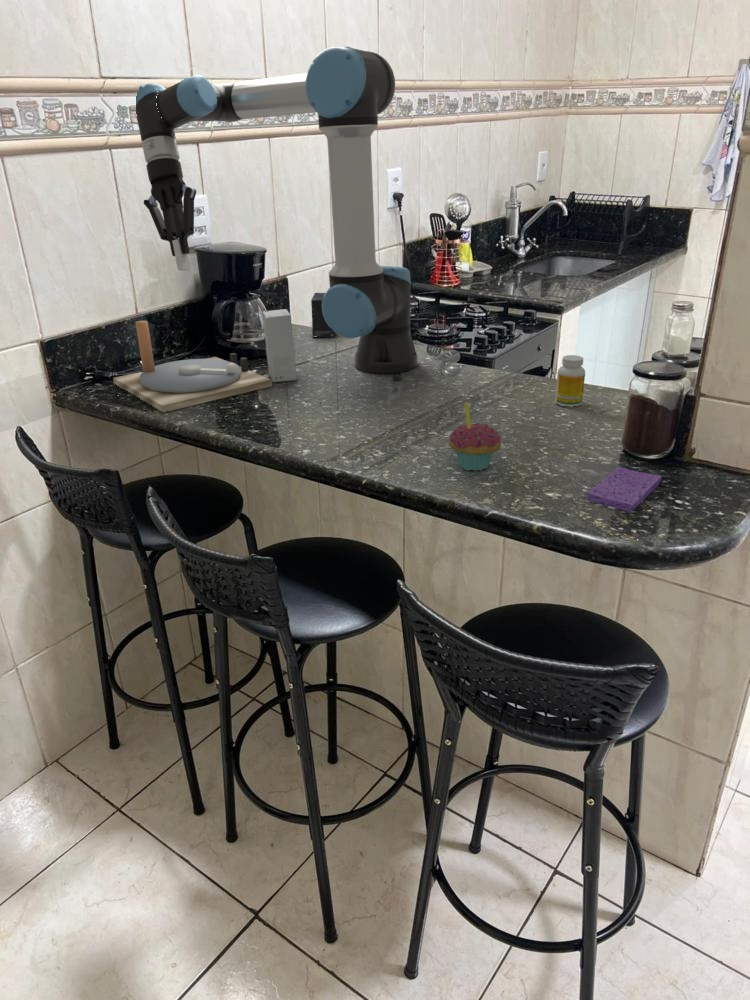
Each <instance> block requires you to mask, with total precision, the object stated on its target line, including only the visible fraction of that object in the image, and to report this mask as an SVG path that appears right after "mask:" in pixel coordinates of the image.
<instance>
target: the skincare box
mask: <svg viewBox="0 0 750 1000" xmlns="http://www.w3.org/2000/svg"><path fill="white" fill-rule="evenodd" d="M262 319H263V321H262V322H263V331H264V341H265V349H266V351H265V352H266V360H267V368H268V375H269V377H270V379H271V380H272V383H277V382H293V381H295V382H296V381H297V380H298V378H297V377H298V375H297V367H296V357H295V346H294V338H293V336H294V335H293V327H292V315H291V313H290V312H289V311H288V309H286V308H285V309H274V310H264V311H262Z"/></svg>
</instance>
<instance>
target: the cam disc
mask: <svg viewBox="0 0 750 1000" xmlns="http://www.w3.org/2000/svg"><path fill="white" fill-rule="evenodd" d="M135 329H136V335H137V341H138V347H139V348H138V349H139V353H140V358H141V359H140V360H141V365H142V366H141V367H142V371H141V372H142V373H141V375H140V382H141V385H142V386H143V387H145V388H147V389H150V390H153V391H159V392H168V393H185V392H197V391H204V390H210V389H215V388H219V387H222V386H225V385H228V384H231V383H233V382H234V381H236V380H237V379H239V377H240V376H241V371H240V367H241V366H239V364H238V365H237V364H235V363H233V362H230V360H229V361H228V360H224V359H222V360H218V359H206V358H191V359H190V358H189V359H182V360H174V361H169V362H164V363H161V364H157V365H155V361H154V354H153V349H152V340H151V334H150V329H149V323H148V320H138V321H135Z"/></svg>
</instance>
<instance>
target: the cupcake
mask: <svg viewBox="0 0 750 1000" xmlns="http://www.w3.org/2000/svg"><path fill="white" fill-rule="evenodd" d="M464 411H465V420H466V424H462V425H460V426H458V427H457V426H456V429H453V431H452V432H451V433H450V434H449V438H448V439H449V440H448V444H449V447H450V449H451V450H454V452H455V455H456V457H457V461H458V466H459V467H460V466H461V467H463V468H465V469H469V470H481V469H485V468H486V469H487V468H488V467H489V464H490V461H491V460H492V457H493V455H494V453H495V452H497V451H498V450H501V447H502V440H501V437H502V436H501V435H500V434H499V432H498V431H496V429H495V428H493V427H491V426H490V425H489V424H483V423H479V422H477V423H471V414H470V413H471V412H470V404H469V402H468V401H467V398H464ZM461 467H460V468H461ZM465 469H464V470H465ZM486 469H485V470H486ZM481 471H482V470H481Z"/></svg>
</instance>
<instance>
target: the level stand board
mask: <svg viewBox="0 0 750 1000" xmlns="http://www.w3.org/2000/svg"><path fill="white" fill-rule="evenodd" d="M229 358H230V359H229V362H233V363H235V364H237V365H238V366H239V364H238V363H239V362H240V366H239V367H240V371H241V376H240V377H239V379H237V380H236V381H234V382H233V383H231V384H228V385H225V386H222V387H219V388H215V389H210V390H204V391H197V392H185V393H168V392H159V391H153V390H150V389H147V388H145V387H143V386H142V385H141V382H140V375H141V373H142V372H143V371H140V372H134V373H130V374H125V375H121V376H115V377H113V378H112V379H113V385H115V384H116V385H117V387H118V386H119V387H118V388H120V389H122V390H123V389H124V390H123V391H125V390H126V391H125V392H127V391H128V392H127V393H129V392H130V393H131V394H130V393H129V394H130V395H132V394H133V396H134V395H135V396H134V397H136V398H137V397H138V398H137V399H139V398H140V400H141V401H143V402H144V401H145V402H144V403H146V402H147V404H148V405H149V406H151V405H152V406H151V407H153V408H155V409H156V410H158V411H160V412H162V413H163V412H164V413H167V411H168V412H172V411H174V410H175V411H176V410H179V409H183V408H187V407H192V406H196V405H199V404H200V405H201V404H204V403H209V402H213V401H217V400H220V399H221V400H222V399H225V398H229V397H232V396H238V395H242V394H245V393H250V392H253V391H257V390H262V389H266V388H270V387H273V382H272V379H271V378H268V377H266V376H264V375H261V374H259V373H256V372H254V371H251V370H249V362H248V358H247V357H240V358H239V360H240V361H239V362H238V354H237V353H235V352H233V353H231V352H230V353H229ZM205 359H218V360H223V359H222V358H219V357H217V356H212V357H207V358H205ZM116 385H115V386H116Z"/></svg>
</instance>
